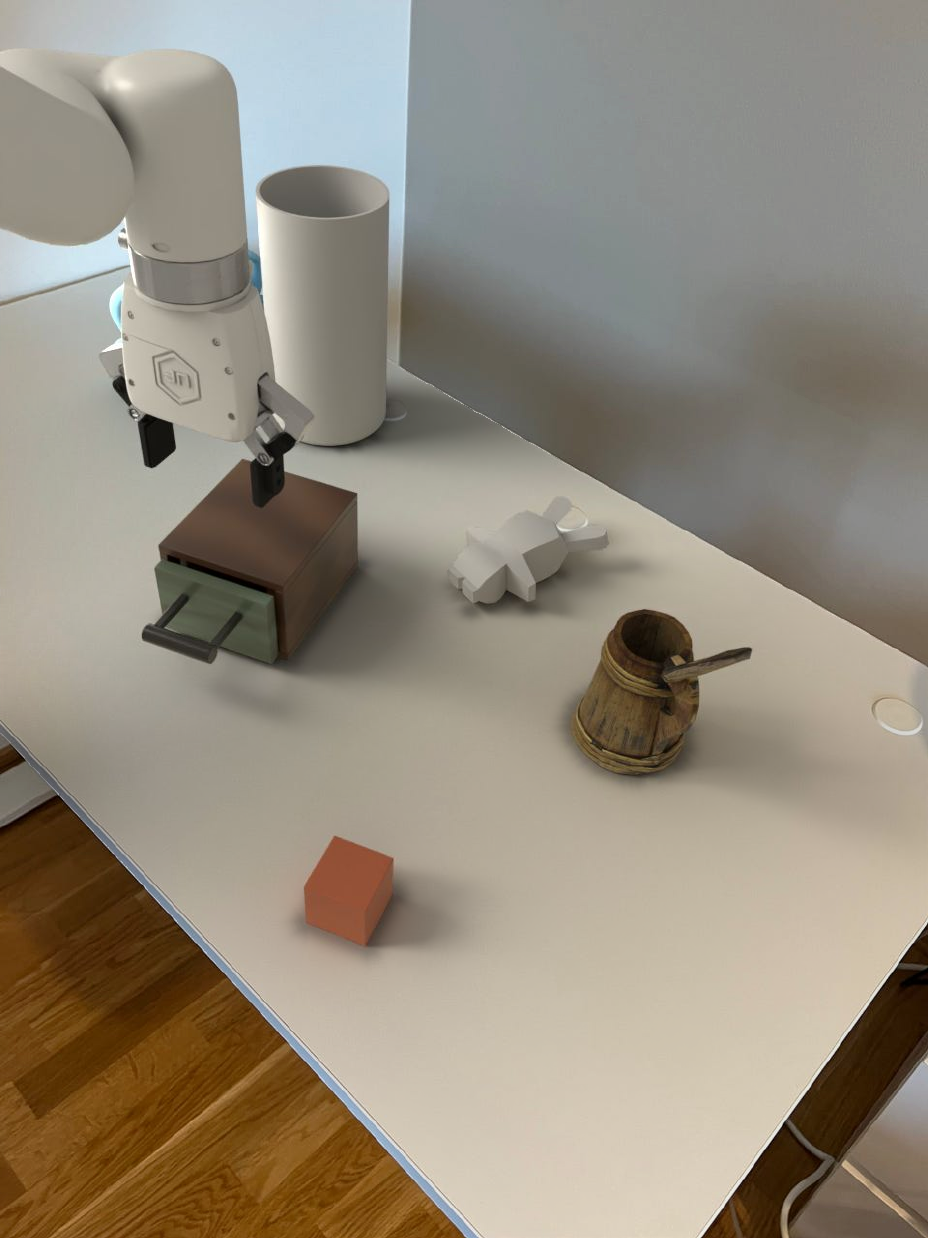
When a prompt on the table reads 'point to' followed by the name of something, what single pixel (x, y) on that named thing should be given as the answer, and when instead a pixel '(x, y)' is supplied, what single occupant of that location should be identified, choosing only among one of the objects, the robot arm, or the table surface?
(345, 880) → the block
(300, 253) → the cylinder vase
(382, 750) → the table surface
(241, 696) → the table surface
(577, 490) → the table surface
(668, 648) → the wooden mug
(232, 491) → the cabinet
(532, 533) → the bunny figurine
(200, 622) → the drawer
